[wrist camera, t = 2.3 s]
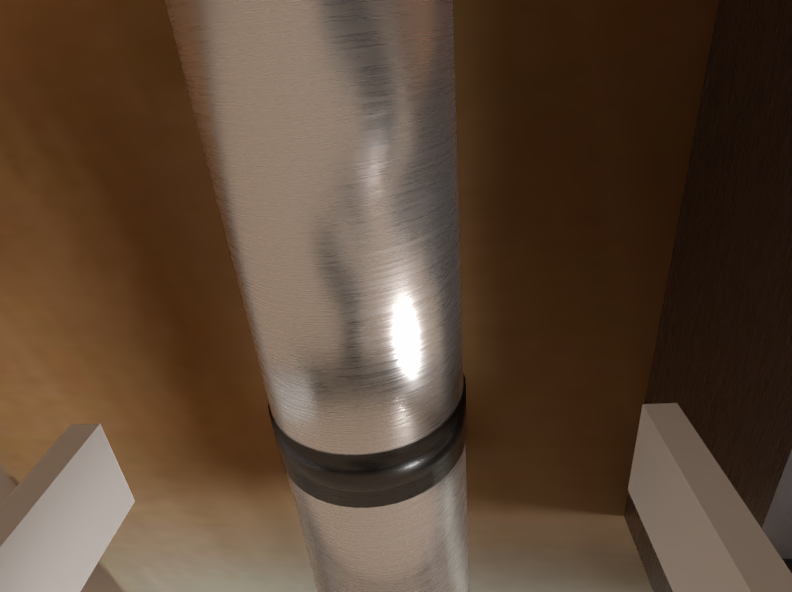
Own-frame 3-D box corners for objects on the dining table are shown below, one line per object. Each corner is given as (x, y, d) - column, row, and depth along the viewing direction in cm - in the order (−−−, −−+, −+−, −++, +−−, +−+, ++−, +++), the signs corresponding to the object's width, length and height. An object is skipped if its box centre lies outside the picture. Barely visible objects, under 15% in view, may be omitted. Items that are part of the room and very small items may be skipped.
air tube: (197, -185, 10) (-12, -330, 6) (454, -229, 10) (434, -435, 5) (355, 597, 23) (326, 740, 18) (473, 607, 22) (472, 759, 17)
